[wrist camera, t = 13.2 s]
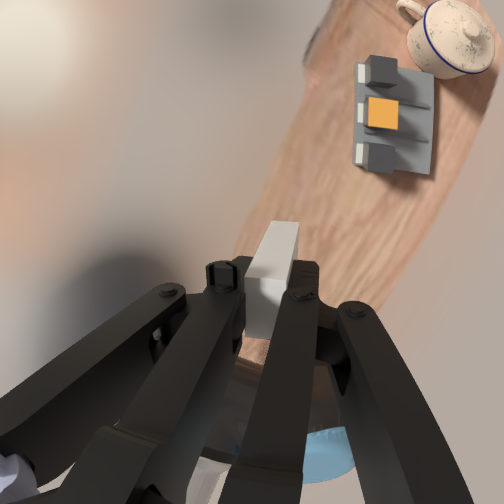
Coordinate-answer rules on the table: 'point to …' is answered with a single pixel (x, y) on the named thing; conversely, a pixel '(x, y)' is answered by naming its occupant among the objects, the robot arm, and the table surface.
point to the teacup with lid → (448, 38)
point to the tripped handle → (380, 113)
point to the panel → (409, 117)
